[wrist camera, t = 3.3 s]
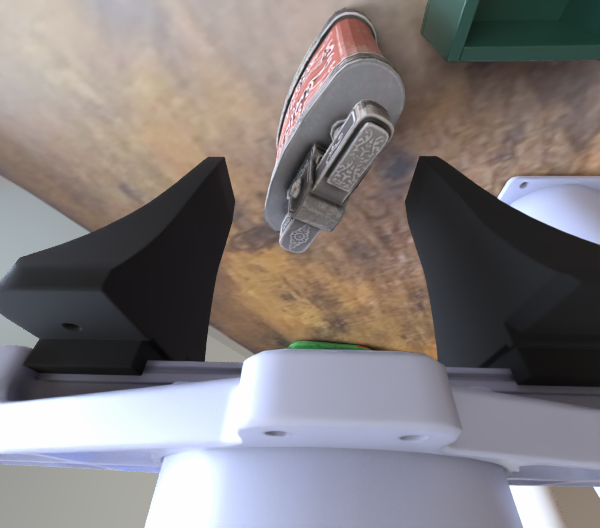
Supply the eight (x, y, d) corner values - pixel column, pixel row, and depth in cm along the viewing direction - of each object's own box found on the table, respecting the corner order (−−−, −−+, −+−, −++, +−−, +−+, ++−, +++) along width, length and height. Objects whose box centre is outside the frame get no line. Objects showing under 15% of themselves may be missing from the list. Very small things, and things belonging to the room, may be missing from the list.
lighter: (312, 165, 20) (311, 285, 13) (265, 143, 19) (240, 262, 12) (391, 32, 14) (455, 131, 8) (331, -10, 13) (348, 63, 7)
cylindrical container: (510, 381, 51) (601, 597, 35) (509, 393, 55) (588, 587, 39) (465, 386, 53) (530, 589, 37) (468, 397, 58) (526, 580, 42)
